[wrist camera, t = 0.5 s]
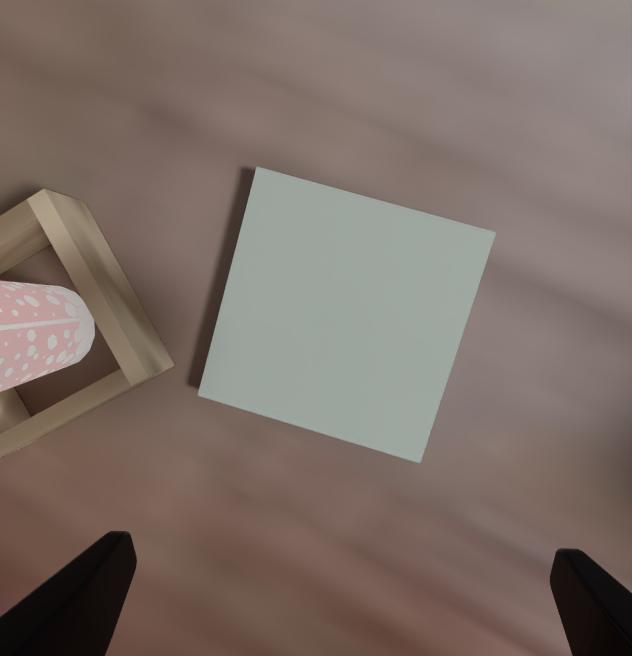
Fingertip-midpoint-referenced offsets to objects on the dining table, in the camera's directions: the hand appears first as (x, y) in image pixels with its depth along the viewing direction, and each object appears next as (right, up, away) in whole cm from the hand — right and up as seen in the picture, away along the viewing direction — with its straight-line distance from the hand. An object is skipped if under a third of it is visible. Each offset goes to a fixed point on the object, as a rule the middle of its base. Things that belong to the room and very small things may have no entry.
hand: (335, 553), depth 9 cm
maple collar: (-15, +5, +14) cm, 21 cm away
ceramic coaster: (+1, +5, +13) cm, 14 cm away
